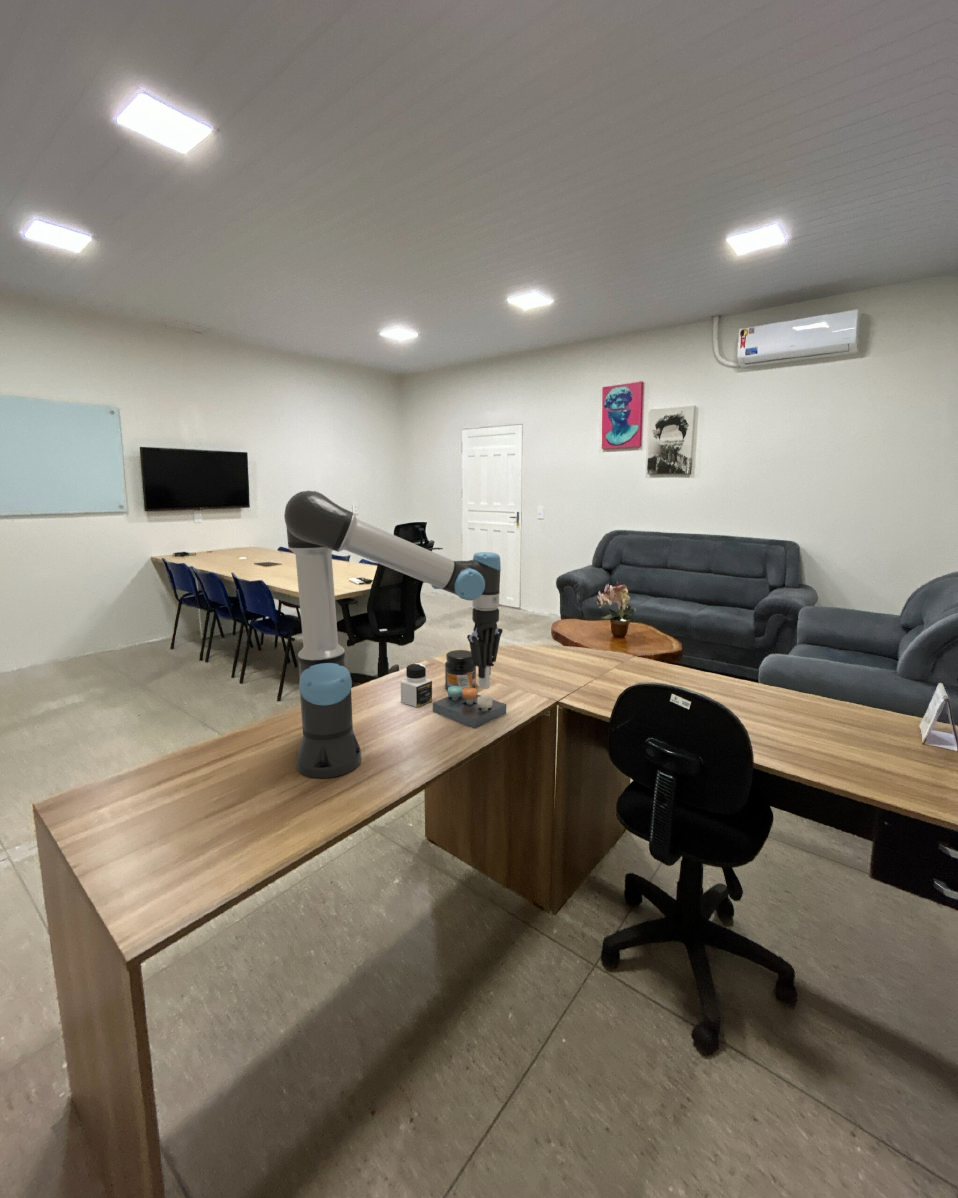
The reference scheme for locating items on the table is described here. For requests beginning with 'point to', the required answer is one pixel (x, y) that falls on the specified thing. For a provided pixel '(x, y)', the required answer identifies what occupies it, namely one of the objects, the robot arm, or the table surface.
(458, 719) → the console
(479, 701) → the ivory button
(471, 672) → the supplement container
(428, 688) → the medicine bottle
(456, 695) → the teal button
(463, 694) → the orange button
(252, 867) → the table surface
